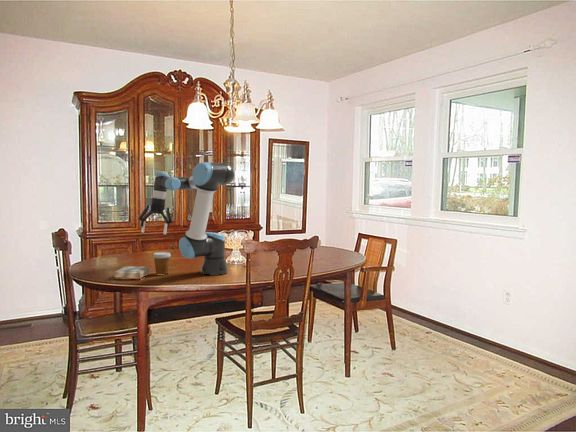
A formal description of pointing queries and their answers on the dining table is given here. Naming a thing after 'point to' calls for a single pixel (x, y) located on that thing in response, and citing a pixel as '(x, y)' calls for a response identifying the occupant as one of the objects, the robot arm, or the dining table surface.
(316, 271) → the dining table surface
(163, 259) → the disposable coffee cup
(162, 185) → the robot arm
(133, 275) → the birch base block
